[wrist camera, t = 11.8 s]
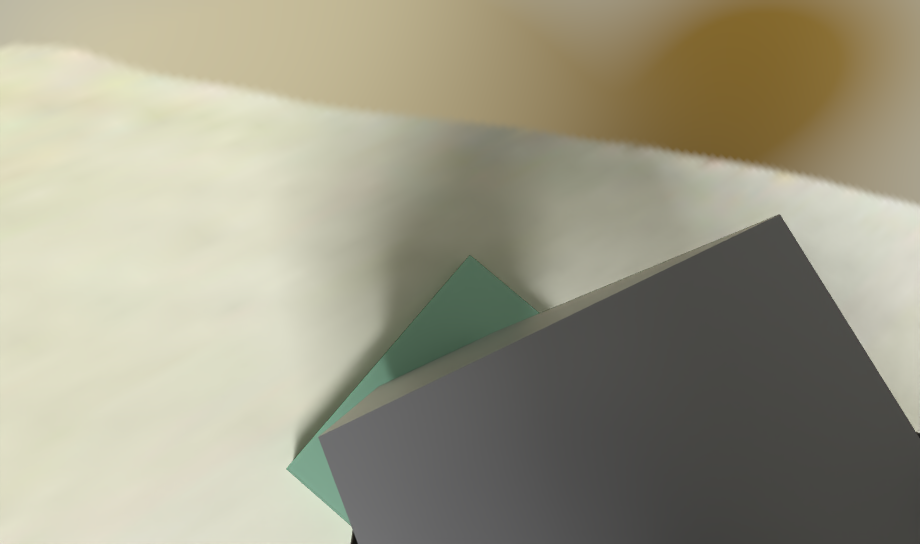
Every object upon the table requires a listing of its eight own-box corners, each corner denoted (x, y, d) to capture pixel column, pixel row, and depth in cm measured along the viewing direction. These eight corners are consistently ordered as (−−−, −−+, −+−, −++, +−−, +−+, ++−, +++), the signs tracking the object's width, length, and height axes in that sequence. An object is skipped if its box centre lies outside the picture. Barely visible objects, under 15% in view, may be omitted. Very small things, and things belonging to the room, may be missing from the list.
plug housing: (550, 450, 15) (1095, 719, 3) (432, 518, 14) (639, 1296, 2) (495, 331, 16) (779, 213, 4) (379, 386, 15) (317, 437, 3)
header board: (768, 513, 18) (852, 545, 15) (651, 777, 15) (726, 893, 12) (465, 260, 19) (481, 236, 15) (292, 462, 16) (265, 487, 12)
